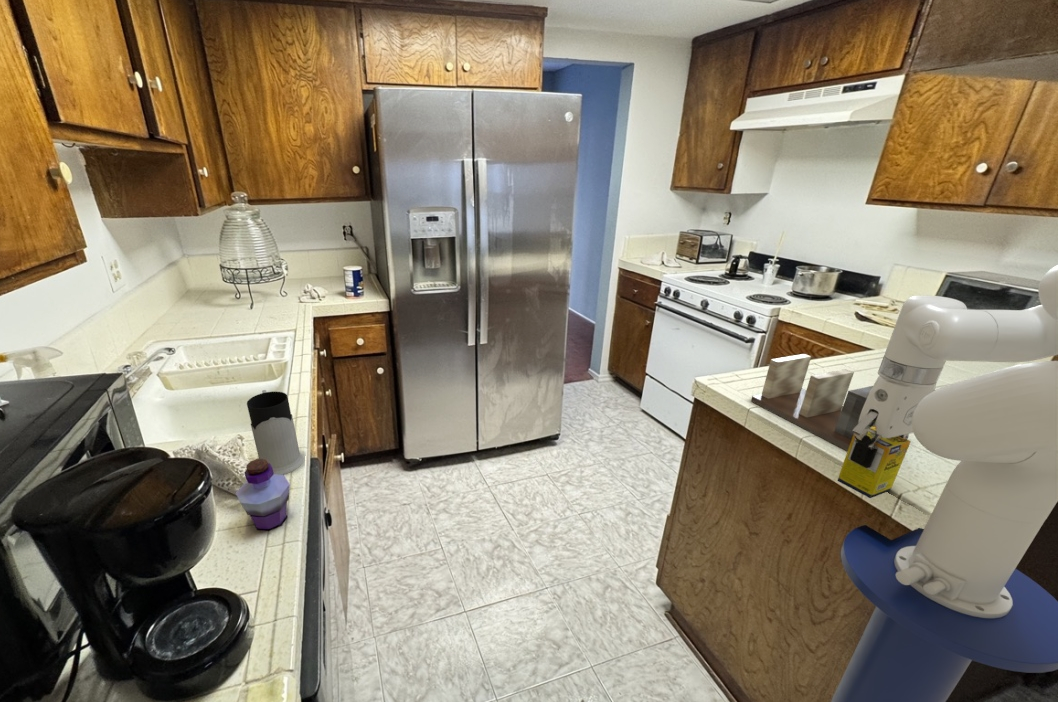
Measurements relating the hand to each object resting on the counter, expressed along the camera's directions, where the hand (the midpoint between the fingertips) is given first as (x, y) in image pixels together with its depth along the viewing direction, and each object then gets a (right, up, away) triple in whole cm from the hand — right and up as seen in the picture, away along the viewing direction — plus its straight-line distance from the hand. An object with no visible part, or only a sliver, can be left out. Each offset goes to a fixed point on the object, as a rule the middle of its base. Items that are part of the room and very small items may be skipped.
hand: (873, 459), depth 86 cm
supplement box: (0, -6, +3) cm, 6 cm away
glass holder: (-115, -2, +15) cm, 116 cm away
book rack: (+10, +5, +25) cm, 28 cm away
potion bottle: (-109, -10, -3) cm, 110 cm away
